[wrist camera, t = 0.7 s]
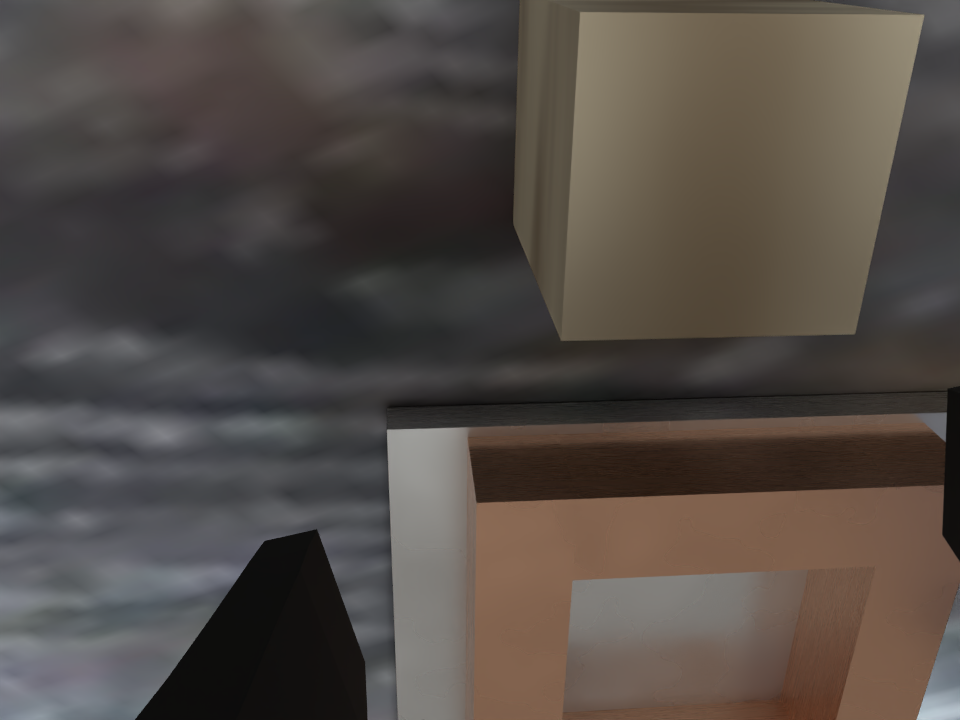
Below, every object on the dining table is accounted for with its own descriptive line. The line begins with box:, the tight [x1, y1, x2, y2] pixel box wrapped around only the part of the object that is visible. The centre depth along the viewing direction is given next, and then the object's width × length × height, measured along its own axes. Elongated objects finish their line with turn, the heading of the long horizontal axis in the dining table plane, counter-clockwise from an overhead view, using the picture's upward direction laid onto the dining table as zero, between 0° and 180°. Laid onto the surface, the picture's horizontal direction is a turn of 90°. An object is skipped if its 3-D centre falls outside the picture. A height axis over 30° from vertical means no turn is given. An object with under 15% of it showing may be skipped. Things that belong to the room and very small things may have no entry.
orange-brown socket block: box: [387, 392, 960, 720], centre depth 21 cm, size 14×11×4 cm
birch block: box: [513, 0, 924, 341], centre depth 15 cm, size 4×4×6 cm
